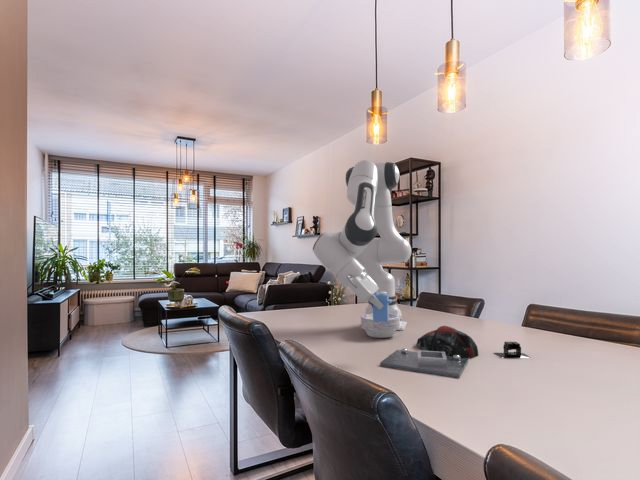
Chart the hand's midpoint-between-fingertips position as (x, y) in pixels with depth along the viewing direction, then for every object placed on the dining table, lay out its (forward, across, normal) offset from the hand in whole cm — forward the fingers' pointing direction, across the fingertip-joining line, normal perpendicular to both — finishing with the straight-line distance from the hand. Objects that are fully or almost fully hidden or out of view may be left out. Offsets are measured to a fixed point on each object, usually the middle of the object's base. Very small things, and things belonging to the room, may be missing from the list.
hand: (383, 306), depth 117 cm
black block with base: (+40, +14, -16) cm, 45 cm away
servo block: (+3, 0, +4) cm, 4 cm away
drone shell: (+26, +17, -2) cm, 31 cm away
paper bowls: (+9, +32, +15) cm, 36 cm away
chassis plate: (+20, -2, +3) cm, 21 cm away
